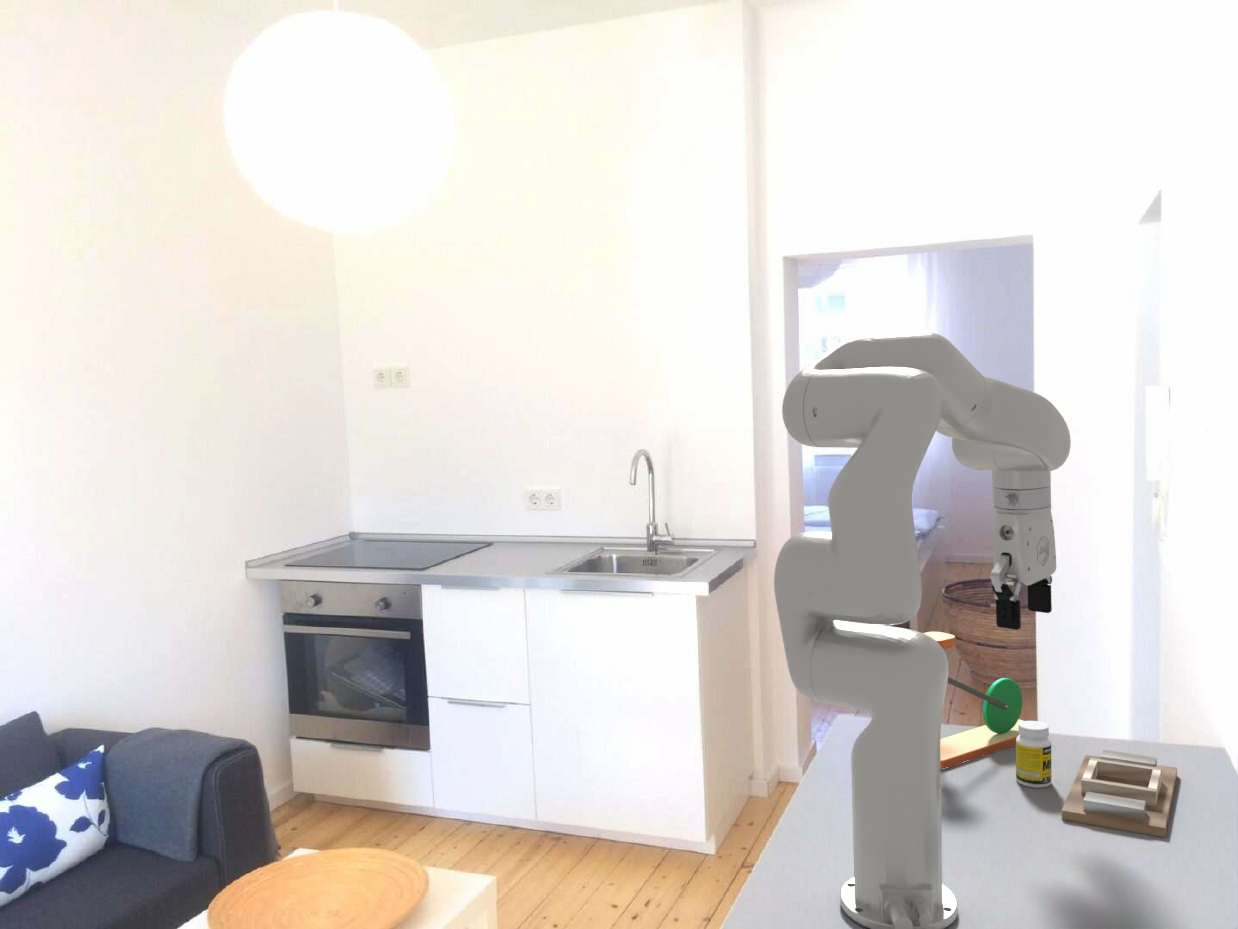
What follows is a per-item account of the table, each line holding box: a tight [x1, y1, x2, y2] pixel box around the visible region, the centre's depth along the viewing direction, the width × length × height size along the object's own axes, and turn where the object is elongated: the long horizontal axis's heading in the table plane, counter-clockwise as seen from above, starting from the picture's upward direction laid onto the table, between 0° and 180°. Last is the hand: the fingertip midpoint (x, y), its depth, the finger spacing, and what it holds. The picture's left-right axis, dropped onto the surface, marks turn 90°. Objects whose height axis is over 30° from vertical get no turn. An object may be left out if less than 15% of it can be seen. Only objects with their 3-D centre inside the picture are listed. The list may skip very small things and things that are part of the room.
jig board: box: [1061, 749, 1178, 838], centre depth 142 cm, size 22×12×3 cm, turn 148°
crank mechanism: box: [922, 631, 1024, 770], centre depth 162 cm, size 25×7×19 cm, turn 121°
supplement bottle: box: [1015, 720, 1052, 789], centre depth 147 cm, size 5×5×8 cm
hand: (1024, 619), depth 145 cm, fingers open, 9 cm apart
